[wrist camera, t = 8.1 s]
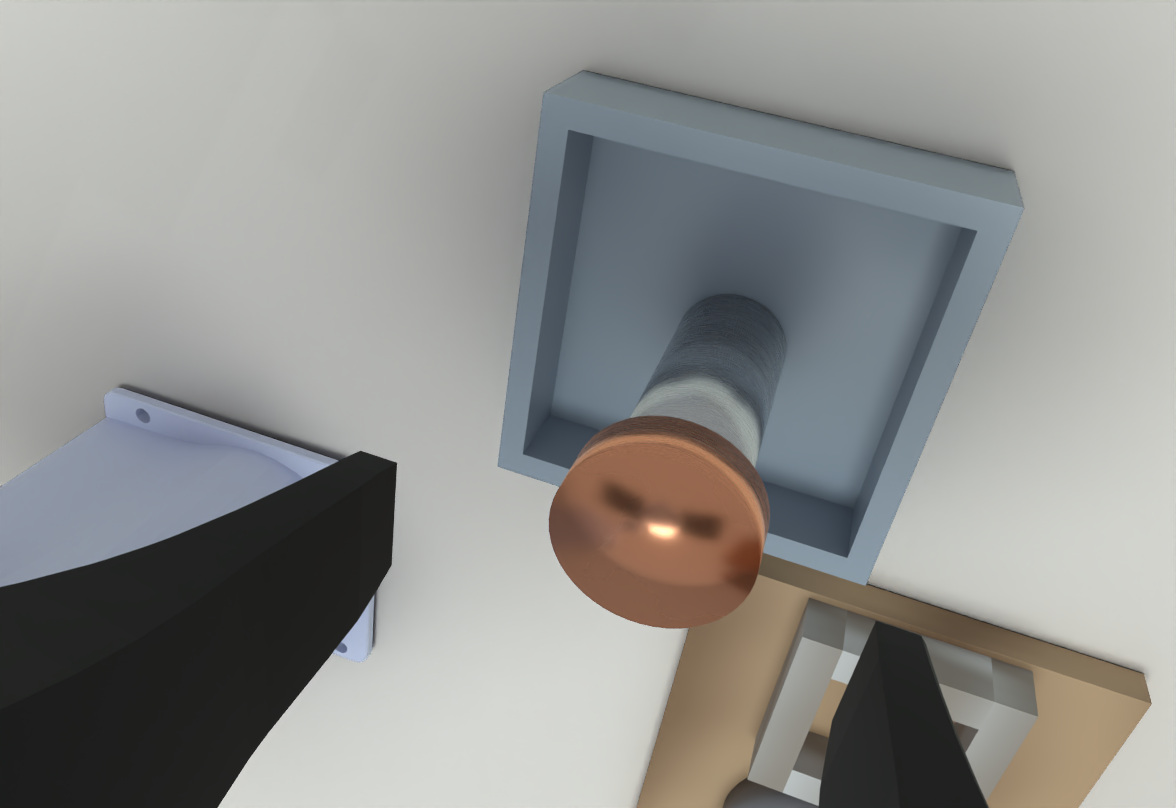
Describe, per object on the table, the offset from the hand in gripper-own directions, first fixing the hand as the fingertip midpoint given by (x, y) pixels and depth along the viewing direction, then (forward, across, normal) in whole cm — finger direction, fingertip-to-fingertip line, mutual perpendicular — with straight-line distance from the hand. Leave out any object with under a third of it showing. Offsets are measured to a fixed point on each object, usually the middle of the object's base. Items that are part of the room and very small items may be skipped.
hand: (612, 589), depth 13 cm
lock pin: (+10, 0, +1) cm, 10 cm away
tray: (+10, 0, 0) cm, 10 cm away
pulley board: (+10, -6, +13) cm, 18 cm away
